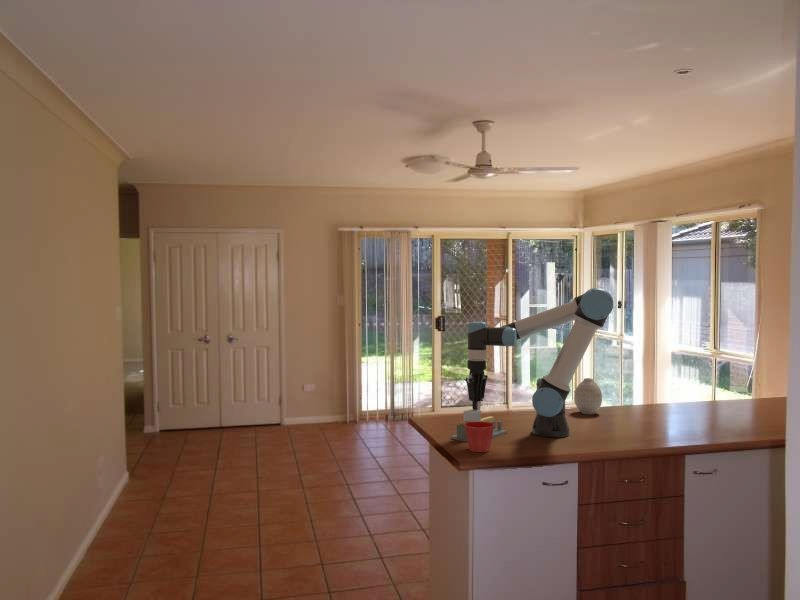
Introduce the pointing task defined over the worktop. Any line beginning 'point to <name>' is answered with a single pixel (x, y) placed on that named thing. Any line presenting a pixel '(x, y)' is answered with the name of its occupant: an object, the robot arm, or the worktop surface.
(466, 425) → the flower pot
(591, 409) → the vase
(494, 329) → the robot arm
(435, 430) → the worktop surface
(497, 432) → the cable comb
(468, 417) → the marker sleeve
